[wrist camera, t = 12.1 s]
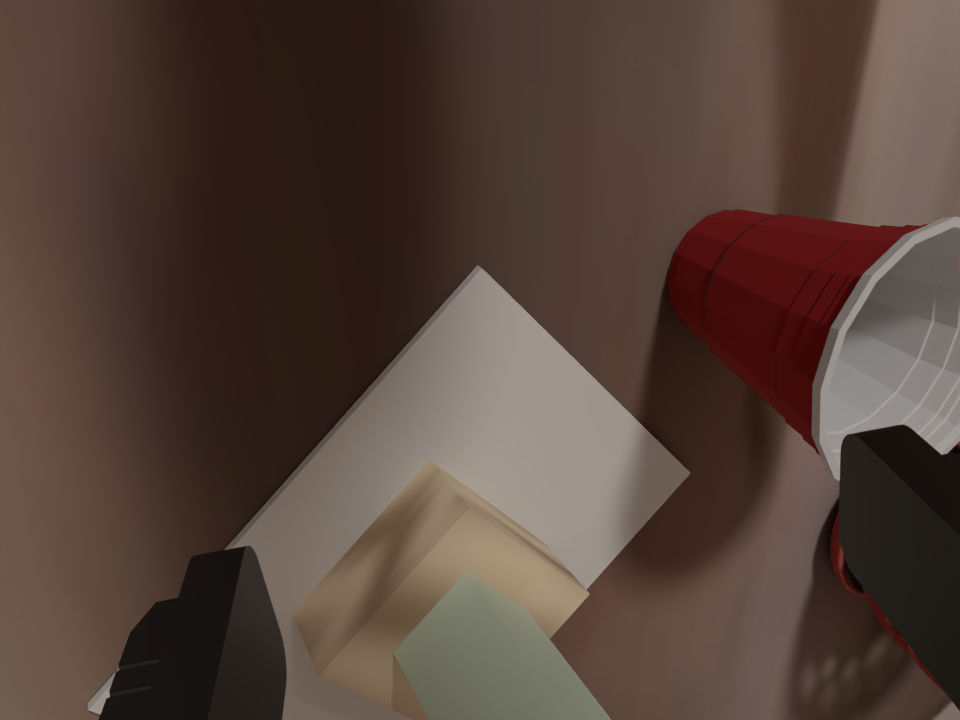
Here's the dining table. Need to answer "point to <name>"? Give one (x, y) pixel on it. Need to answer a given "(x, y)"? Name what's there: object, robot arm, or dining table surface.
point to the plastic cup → (830, 320)
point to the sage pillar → (490, 662)
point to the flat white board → (459, 466)
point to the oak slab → (423, 583)
